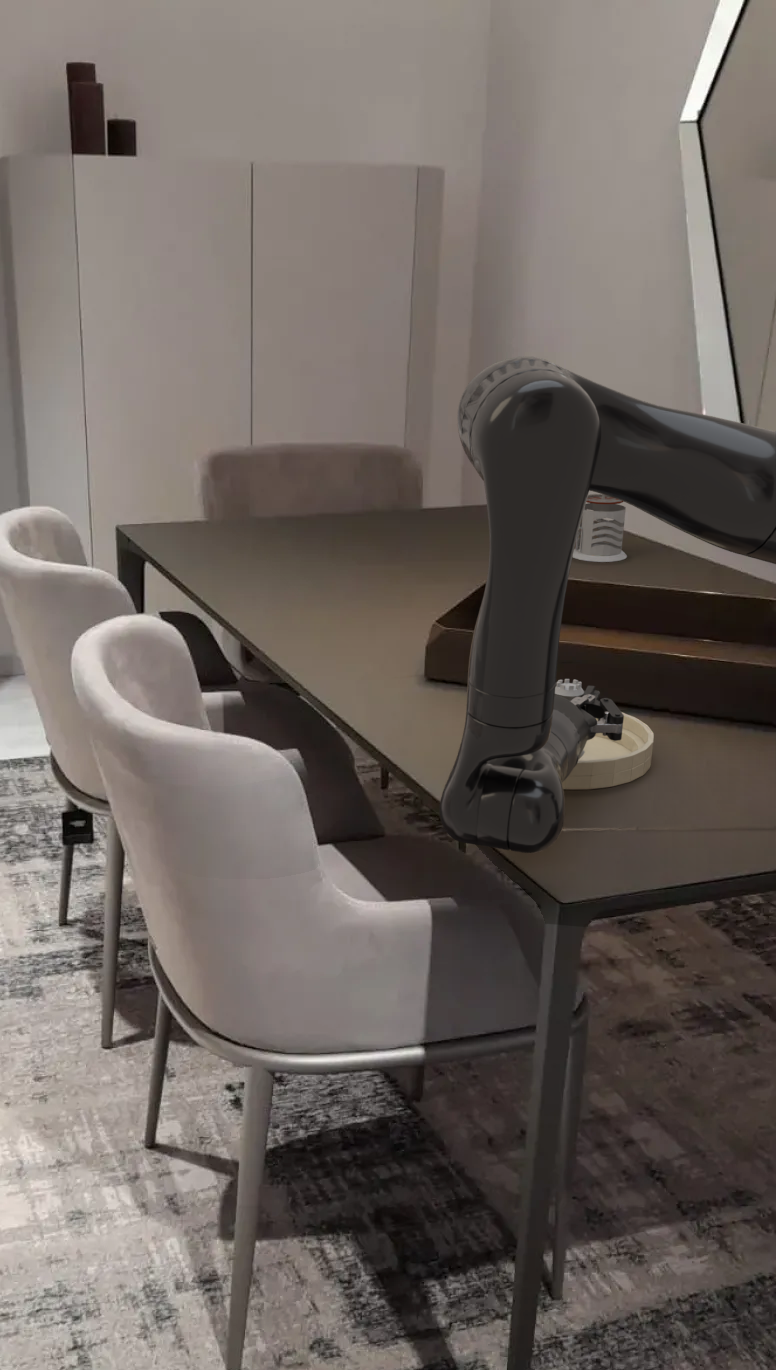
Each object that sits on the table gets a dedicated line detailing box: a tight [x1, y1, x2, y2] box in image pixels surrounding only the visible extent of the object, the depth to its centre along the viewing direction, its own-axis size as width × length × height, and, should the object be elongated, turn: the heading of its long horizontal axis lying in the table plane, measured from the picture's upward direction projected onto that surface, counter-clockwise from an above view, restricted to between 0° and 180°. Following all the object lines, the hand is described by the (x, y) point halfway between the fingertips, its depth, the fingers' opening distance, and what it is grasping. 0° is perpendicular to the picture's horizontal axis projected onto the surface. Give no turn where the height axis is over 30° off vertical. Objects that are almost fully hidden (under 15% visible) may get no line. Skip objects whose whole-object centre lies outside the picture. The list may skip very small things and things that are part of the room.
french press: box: [572, 493, 628, 563], centre depth 231 cm, size 10×12×25 cm
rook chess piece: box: [555, 678, 585, 759], centre depth 143 cm, size 4×4×8 cm
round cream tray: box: [562, 711, 655, 790], centre depth 149 cm, size 19×19×4 cm
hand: (572, 693), depth 145 cm, fingers closed on rook chess piece, 3 cm apart
